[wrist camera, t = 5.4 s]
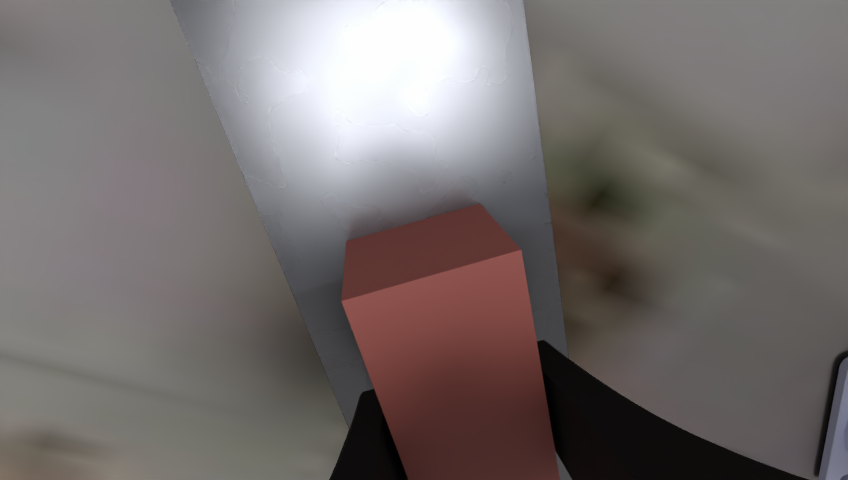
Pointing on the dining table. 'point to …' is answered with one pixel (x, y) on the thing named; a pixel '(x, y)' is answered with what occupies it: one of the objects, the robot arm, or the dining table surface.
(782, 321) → the dining table surface
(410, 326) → the clip
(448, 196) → the rail
